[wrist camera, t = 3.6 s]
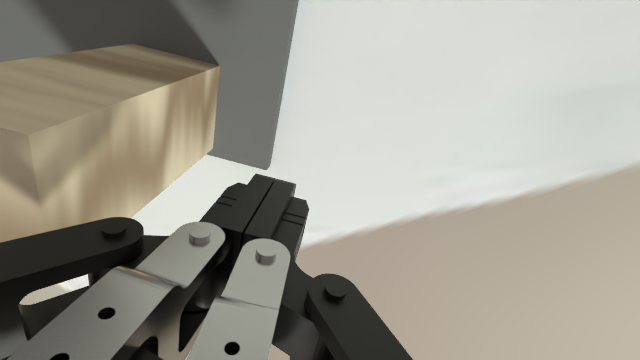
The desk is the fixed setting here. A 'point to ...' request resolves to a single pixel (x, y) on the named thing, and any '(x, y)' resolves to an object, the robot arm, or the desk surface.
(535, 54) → the desk surface
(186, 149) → the birch block
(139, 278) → the robot arm
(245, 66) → the rubber mat
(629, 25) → the desk surface
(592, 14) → the desk surface
